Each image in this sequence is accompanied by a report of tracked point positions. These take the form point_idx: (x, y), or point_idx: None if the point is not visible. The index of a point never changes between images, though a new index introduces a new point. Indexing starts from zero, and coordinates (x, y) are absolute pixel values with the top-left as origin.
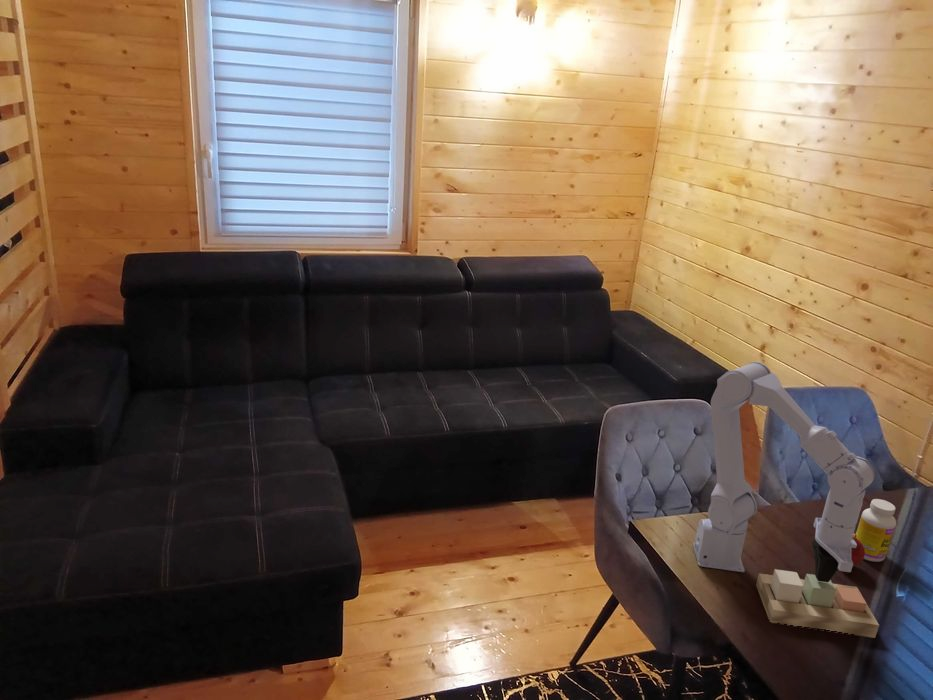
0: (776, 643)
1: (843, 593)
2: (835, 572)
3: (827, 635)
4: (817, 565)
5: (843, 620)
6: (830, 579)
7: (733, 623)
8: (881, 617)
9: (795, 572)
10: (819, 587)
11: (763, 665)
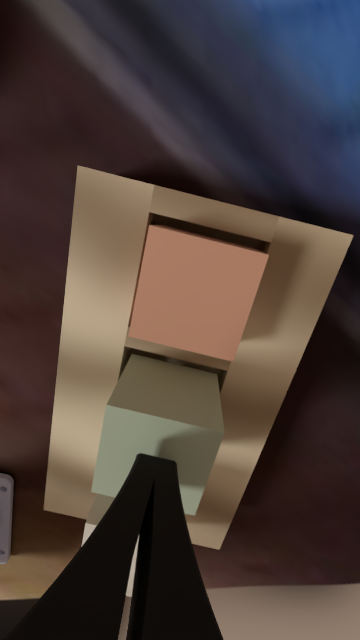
0: (289, 523)
1: (183, 331)
2: (189, 539)
3: None
4: (128, 627)
5: (292, 371)
6: (175, 474)
7: (213, 570)
8: (214, 112)
9: (88, 529)
10: (195, 492)
11: (348, 574)
